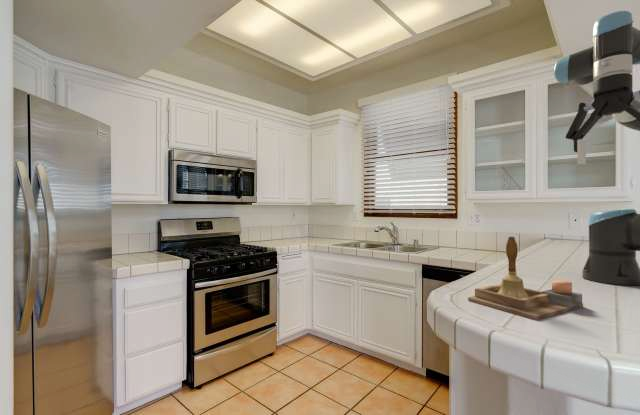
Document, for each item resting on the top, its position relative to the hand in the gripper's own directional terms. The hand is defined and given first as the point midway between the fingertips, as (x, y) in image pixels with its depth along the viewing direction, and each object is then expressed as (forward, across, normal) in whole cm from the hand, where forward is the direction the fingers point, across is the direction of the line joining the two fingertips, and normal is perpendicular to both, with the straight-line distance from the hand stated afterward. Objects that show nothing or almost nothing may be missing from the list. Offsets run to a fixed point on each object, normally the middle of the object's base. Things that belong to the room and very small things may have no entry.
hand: (612, 160), depth 85 cm
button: (+33, -4, -15) cm, 36 cm away
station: (+36, -10, -22) cm, 43 cm away
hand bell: (+35, -12, -23) cm, 44 cm away
